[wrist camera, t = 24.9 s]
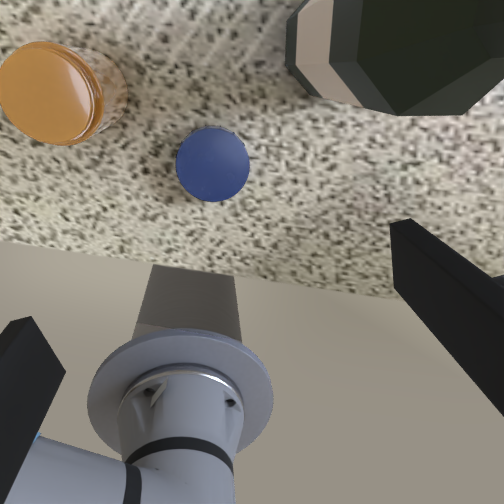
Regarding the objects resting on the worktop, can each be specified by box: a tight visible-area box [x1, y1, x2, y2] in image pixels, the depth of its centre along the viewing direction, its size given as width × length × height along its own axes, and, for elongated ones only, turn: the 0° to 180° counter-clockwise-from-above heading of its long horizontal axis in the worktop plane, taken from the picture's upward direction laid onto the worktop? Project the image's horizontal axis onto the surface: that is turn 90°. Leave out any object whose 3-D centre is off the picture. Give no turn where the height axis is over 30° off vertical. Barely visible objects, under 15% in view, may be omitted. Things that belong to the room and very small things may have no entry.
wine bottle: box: [285, 0, 504, 116], centre depth 17 cm, size 8×8×30 cm
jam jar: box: [0, 41, 128, 146], centre depth 26 cm, size 6×6×9 cm
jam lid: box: [176, 125, 250, 202], centre depth 33 cm, size 6×6×2 cm
